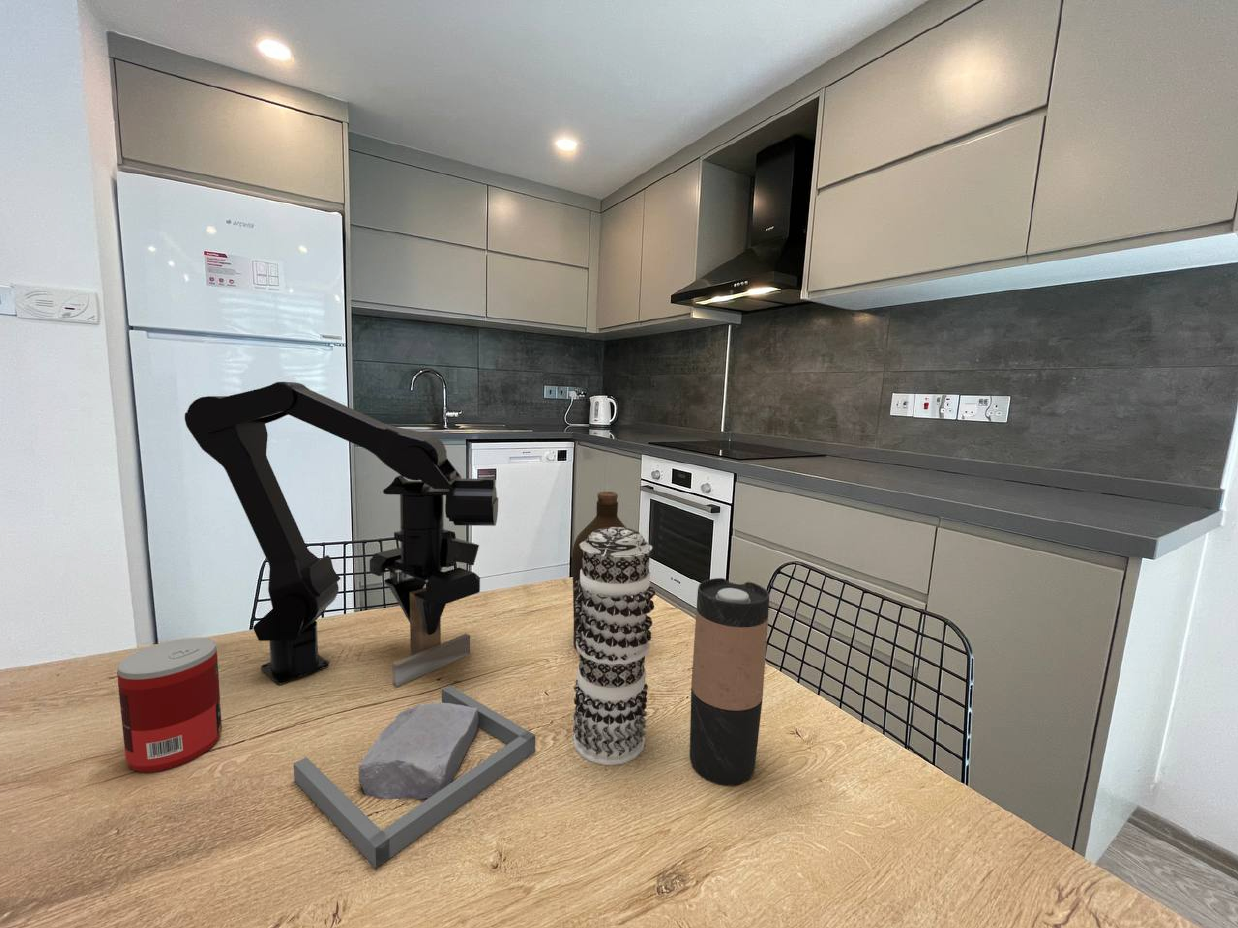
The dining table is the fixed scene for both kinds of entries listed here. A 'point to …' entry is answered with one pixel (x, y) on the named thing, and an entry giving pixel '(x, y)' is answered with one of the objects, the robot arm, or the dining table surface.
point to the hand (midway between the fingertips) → (423, 629)
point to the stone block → (419, 751)
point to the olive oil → (603, 519)
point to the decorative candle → (612, 645)
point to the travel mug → (727, 679)
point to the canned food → (169, 703)
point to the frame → (430, 812)
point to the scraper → (427, 649)
